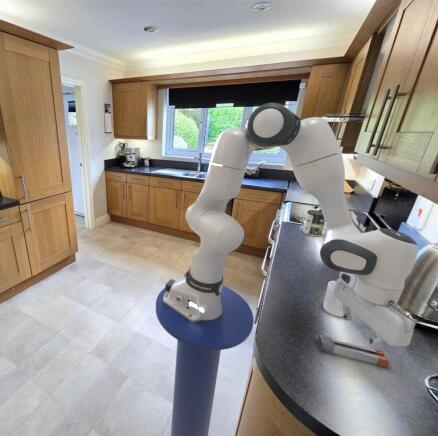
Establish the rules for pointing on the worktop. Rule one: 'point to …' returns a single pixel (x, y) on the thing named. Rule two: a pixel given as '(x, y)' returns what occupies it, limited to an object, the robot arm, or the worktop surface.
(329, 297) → the white cup
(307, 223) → the coffee can
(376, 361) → the tongs
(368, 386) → the worktop surface
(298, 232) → the worktop surface
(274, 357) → the worktop surface
